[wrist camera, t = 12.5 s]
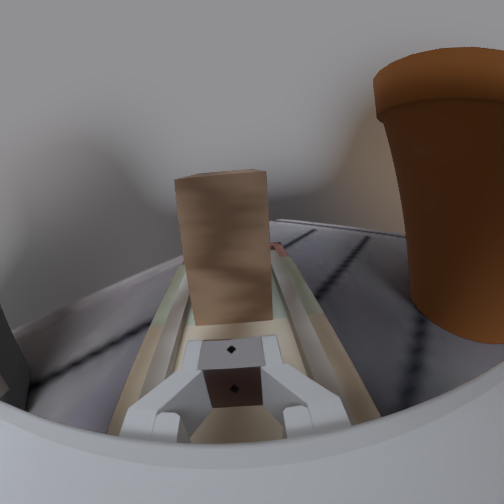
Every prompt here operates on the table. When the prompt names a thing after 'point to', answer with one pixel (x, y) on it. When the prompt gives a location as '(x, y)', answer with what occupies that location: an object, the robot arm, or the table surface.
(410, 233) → the flowerpot
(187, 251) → the walnut block
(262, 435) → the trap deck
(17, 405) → the liquor
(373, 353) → the table surface
